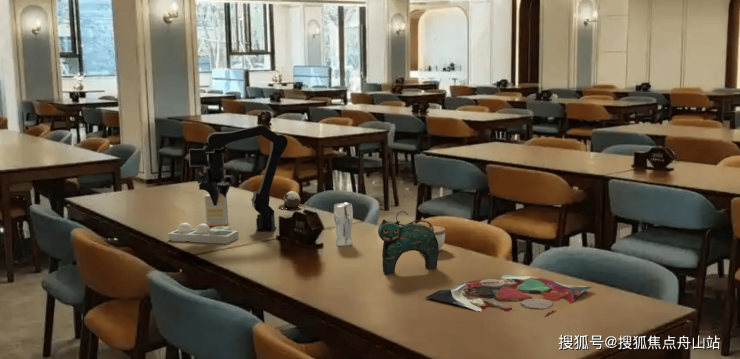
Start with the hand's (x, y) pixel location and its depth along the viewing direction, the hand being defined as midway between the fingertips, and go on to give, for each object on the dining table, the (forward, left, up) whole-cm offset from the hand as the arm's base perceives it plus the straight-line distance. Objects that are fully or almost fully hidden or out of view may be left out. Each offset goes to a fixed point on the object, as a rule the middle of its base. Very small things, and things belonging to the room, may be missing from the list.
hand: (218, 204), depth 320 cm
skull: (-8, -55, -12) cm, 57 cm away
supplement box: (+9, -14, -12) cm, 21 cm away
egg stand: (+1, -1, -12) cm, 12 cm away
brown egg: (0, 0, -1) cm, 1 cm away
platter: (-121, +55, -13) cm, 134 cm away
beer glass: (-54, +7, -12) cm, 56 cm away
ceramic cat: (-86, +36, -12) cm, 94 cm away
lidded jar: (-87, +9, -12) cm, 89 cm away
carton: (+2, +10, -12) cm, 16 cm away
